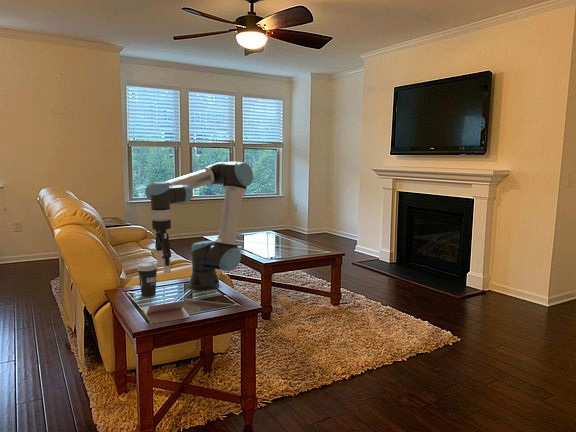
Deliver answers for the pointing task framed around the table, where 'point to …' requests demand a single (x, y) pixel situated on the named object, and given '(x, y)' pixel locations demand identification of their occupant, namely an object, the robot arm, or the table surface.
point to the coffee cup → (147, 278)
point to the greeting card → (166, 312)
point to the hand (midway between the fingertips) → (163, 269)
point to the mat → (163, 321)
